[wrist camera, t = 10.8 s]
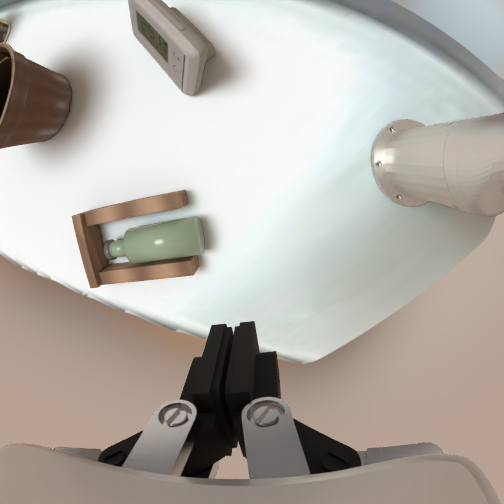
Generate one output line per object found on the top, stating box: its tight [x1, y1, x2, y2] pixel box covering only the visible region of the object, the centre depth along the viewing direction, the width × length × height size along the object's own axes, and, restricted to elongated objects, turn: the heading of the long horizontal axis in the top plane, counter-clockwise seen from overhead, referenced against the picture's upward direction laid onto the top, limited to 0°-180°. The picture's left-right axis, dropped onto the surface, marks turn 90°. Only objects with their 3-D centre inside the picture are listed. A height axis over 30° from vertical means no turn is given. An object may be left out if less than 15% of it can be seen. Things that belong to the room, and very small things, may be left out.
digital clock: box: [128, 0, 216, 95], centre depth 27 cm, size 16×9×11 cm, turn 25°
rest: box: [72, 190, 199, 288], centre depth 38 cm, size 16×11×4 cm, turn 98°
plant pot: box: [0, 43, 72, 149], centre depth 27 cm, size 16×16×16 cm
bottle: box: [104, 216, 204, 264], centre depth 38 cm, size 5×5×14 cm
